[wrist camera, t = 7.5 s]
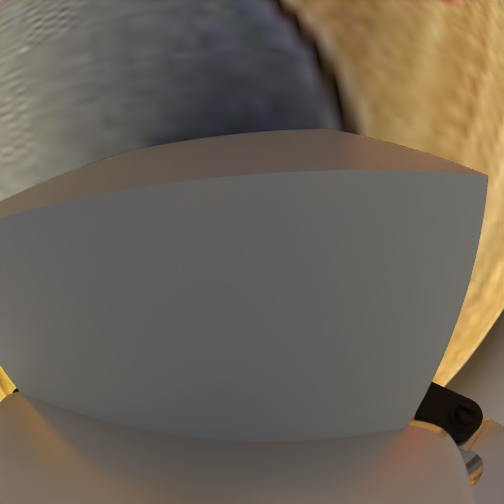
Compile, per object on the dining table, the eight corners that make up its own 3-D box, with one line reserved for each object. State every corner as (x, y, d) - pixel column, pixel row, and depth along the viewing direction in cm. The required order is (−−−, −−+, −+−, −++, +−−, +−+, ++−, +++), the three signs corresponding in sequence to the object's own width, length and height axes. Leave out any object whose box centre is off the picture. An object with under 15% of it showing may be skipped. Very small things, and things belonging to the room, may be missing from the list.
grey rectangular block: (130, 150, 11) (-62, 237, 3) (327, 128, 10) (487, 175, 2) (191, 381, 16) (155, 512, 8) (321, 380, 15) (333, 523, 7)
